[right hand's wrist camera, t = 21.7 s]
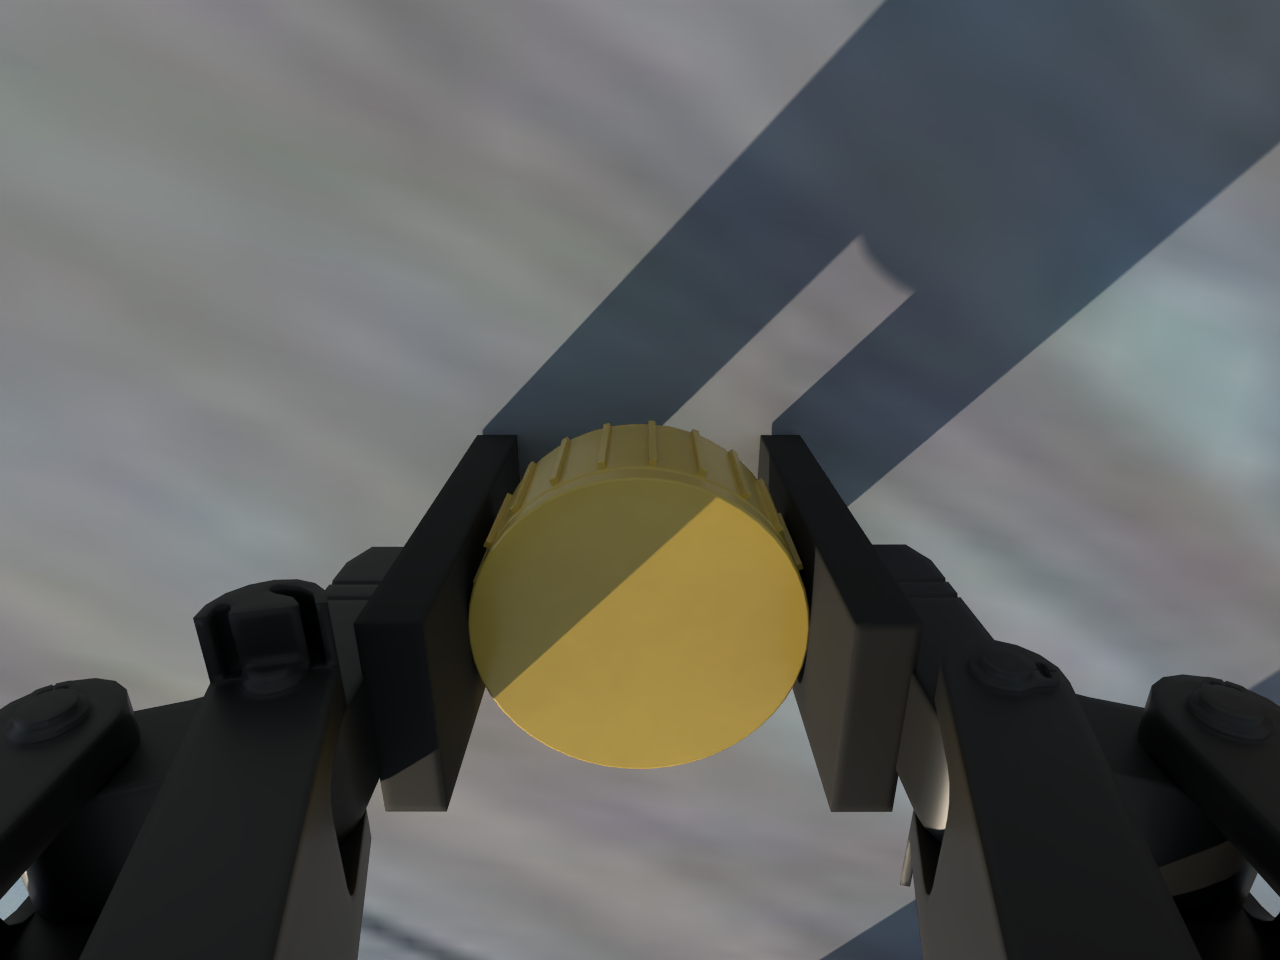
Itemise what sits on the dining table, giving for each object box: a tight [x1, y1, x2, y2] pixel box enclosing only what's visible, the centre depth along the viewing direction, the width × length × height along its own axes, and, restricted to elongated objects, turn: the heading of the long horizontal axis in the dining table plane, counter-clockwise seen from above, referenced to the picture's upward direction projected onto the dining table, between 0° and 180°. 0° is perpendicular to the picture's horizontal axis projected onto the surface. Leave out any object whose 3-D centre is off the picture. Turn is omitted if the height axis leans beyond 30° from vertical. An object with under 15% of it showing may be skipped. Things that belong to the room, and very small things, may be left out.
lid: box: [468, 420, 810, 769], centre depth 11 cm, size 5×5×2 cm
